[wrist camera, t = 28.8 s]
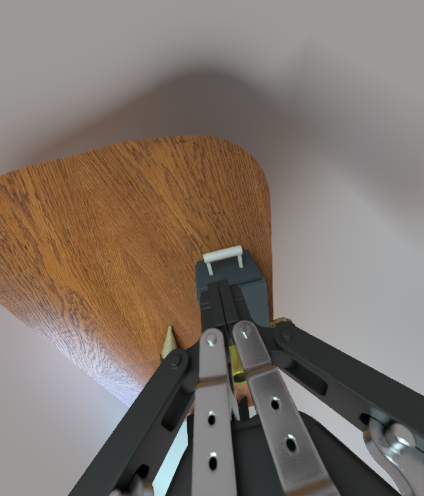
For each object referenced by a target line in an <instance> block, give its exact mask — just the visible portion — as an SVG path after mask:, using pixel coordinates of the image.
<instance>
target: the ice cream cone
mask: <svg viewBox="0 0 424 496" xmlns="http://www.w3.org/2000/svg"><path fill="white" fill-rule="evenodd" d="M176 348H177V344H176V341H175V338H174V335H173V333H172V326H171V325H170V326H169V327H168V332H167V335H166V339H165V342H164V345H163V349H162V352H161V354H160V358H161V359H160V361H159V364H161V363H162V362H163V360H164V359H165V357H166V356H167V355H168V353H169V352H171V351H172V350H174V349H176Z"/></svg>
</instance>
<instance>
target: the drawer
mask: <svg viewBox="0 0 424 496" xmlns="http://www.w3.org/2000/svg"><path fill="white" fill-rule="evenodd" d="M203 258H204V261H200V262H197V273H198V287H199V292H200V294H202V292H205V291H208V285H207V283H211V282H215V281H217V283H218V280H222V279H226V278H227V280H228V283H229V285H232V284H237V285H239V284H241V285H242V284H246V283H250V282H254V281H255V280H259V279H261V274H260V272H259V270H258V268H257V267H256V265H255V263H254V261H253V260H252V258H251V256H250V254H249V253H248V251H247V250H244V251H242V248H241V246H240V245H239V246H235V247H231V248H227V249H222V250H218V251H214V252H210V253H206V254H203ZM218 286H219V285H218Z"/></svg>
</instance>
